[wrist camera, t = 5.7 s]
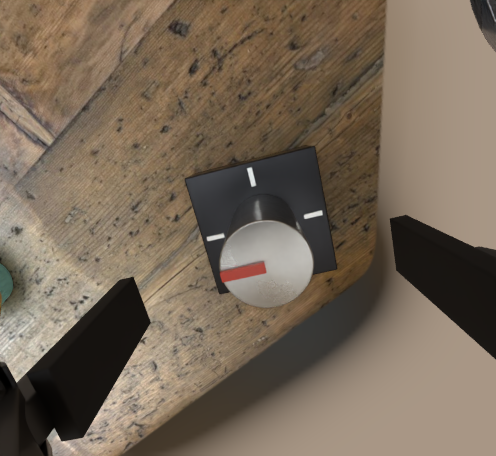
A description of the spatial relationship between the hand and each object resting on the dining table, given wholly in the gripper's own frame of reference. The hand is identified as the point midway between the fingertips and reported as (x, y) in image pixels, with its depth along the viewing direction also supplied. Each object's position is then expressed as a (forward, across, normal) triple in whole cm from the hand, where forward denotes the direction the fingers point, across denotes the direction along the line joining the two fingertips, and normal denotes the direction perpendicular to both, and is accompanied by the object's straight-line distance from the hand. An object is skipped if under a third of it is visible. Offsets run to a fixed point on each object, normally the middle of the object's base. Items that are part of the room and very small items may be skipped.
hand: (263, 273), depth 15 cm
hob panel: (+13, 0, 0) cm, 13 cm away
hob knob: (+9, 0, 0) cm, 9 cm away
